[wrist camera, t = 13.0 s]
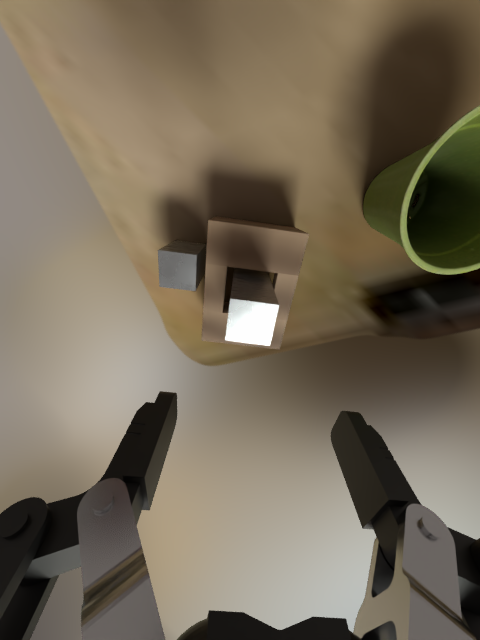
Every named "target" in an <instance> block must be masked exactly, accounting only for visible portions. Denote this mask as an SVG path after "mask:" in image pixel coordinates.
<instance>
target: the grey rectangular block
mask: <svg viewBox="0 0 480 640" xmlns="http://www.w3.org/2000/svg"><path fill="white" fill-rule="evenodd" d="M206 247H207V244H202V243H195V242H187V241H180V240H175V241H174V242H172V243H170V244H168V245H166V246H164V247H163V248H161V249H159V250H158V262H159V283H160V287H166V288H174V289H183V290H191V291H196V289H197V287H198V286H199V284H200V282H201V280H202V278H203V276H204V275H205V266H206Z"/></svg>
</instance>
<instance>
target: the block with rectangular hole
mask: <svg viewBox="0 0 480 640" xmlns="http://www.w3.org/2000/svg"><path fill="white" fill-rule="evenodd" d="M308 237H309V234H308V233H306V232H304V231H302V230H299V229H297V228H295V227H289V226H282V225H275V224H268V223H261V222H254V221H247V220H240V219H232V218H225V217H218V216H216V217H214V218H211V219H209V220H208V234H207V252H206V270H205V289H204V307H203V325H202V341H210V342H219V343H228V344H236V345H245V346H254V347H263V348H272V349H280V346H281V342H282V338H283V334H284V330H285V326H286V322H287V319H288V315H289V311H290V307H291V303H292V299H293V295H294V291H295V288H296V284H297V280H298V276H299V272H300V268H301V264H302V261H303V257H304V253H305V249H306V245H307V241H308ZM228 267H235V268H242V269H250V270H258V271H265V272H273V273H275V274H274V279H273V283H272V286H273V288H274V291H275V294H276V297H277V300H278V303H279V309H278V313H277V317H276V321H275V325H274V329H273V334H272V338H271V342H270V346H268V345H260V344H252V343H243V342H235V341H227V340H225V337H226V328H227V320H228V312H229V304H230V303H225V302H224V298H225V288H226V279H227V269H228Z"/></svg>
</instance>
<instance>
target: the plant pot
mask: <svg viewBox="0 0 480 640" xmlns="http://www.w3.org/2000/svg"><path fill="white" fill-rule="evenodd" d="M416 194H419V199H418V202H417V204H416V206H415V207H414V208H413V207H412V204H413V202H414V199H415V196H416ZM363 213H364V217H365V219H366V221H367V222H368V224H369V225H370V226H371V227H372V228H373V229H375V230H377V231H378V232H380V233H382V234H383V235H385V236H387V237H388V238H390V239H392V240H393V241H395V242H397V243H398V244H400V245H401V246H402V248H403V249H404V250H405V252H406V253H407V255H408V256H409V258H410V259H411V260H412V261H413V262H414V263H415V264H416V265H418V266H419V267H421V268H422V269H424V270H426V271H429V272H433V273H437V274H459V273H464V272H468V271H472V270H475V269H478V268H480V105H479V106H477V107H476V108H474V109H473V110H471V111H470V112H468V113H467V114H465V115H464V116H463V117H461V118H460V119H459V120H458V121H456V122H455V123H454V124H453V125H452V126H451V127H450V128H449V129H447V130H446V131H445V132H444V133H443V134H442V135H441V136H440V137H439V138H438V139H436V140H435V141H434V142H432V143H431V144H429V145H428V146H426V147H424V148H422V149H420V150H418V151H416V152H415V153H413V154H411V155H409V156H407V157H405V158H403V159H402V160H400V161H398V162H396V163H394V164H392V165H391V166H389V167H387V168H386V169H384V170H383V171H382V172H381V173H380V174H379V175H378V176H377V177H376V178H375V179H374V180H373V181H372V182H371V184H370V186H369V188H368V190H367V192H366V194H365V197H364V202H363ZM408 213H409V215H410V217H411V219H410V218H409V216H408Z"/></svg>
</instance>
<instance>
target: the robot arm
mask: <svg viewBox="0 0 480 640" xmlns="http://www.w3.org/2000/svg"><path fill="white" fill-rule="evenodd" d="M176 420H177V394H176V393H171V392H160V393H159V394H158V397H157V399H156V401H155V403H148V402H146V403H145V404H144V405H143V406H142V407H141V408H140V409H139V410H138V411H137V412H136V414H135V416H134V418H133V420H132V422H131V425H130V426H129V427H128V429H127V431H126V434H125V436H124V437H123V439H122V441H121V443H120V445H119V447H118V449H117V451H116V453H115V455H114V457H113V459H112V461H111V463H110V465H109V467H108V469H107V470H106V472H105V474H104V475H103V477H102V478H101V480H100V481H98V483H96V484H95V485H94V486H93V487H92V488H90V489H89V490H87V491H86V492H84V493H82V494H80V495H77V496H74V497H70V498H67V499H63V500H60V501H56V502H52V503H48V504H46V503H45V501H44V500H42V499H41V498H35V497H33V498H27V499H24V500H21V501H19V502H17V503H15V504H13V505H12V506H10V507H9V508H7V509H6V510H4V511H3V512H2V513H1V514H0V640H30V638H31V636H32V634H33V631H34V629H35V627H36V625H37V623H38V620H39V618H40V616H41V614H42V612H43V609H44V607H45V605H46V603H47V601H48V598H49V596H50V593H51V592H52V589H53V587H54V585H55V582H56V580H57V578H58V576H59V575H60V574H62V573H65V572H67V571H70V570H73V569H76V568H79V567H81V570H82V582H83V594H84V595H83V596H84V597H83V599H84V600H83V606H82V610H81V629H82V640H165V636H164V632H163V628H162V625H161V621H160V616H159V613H158V608H157V604H156V600H155V597H154V593H153V589H152V585H151V581H150V577H149V573H148V569H147V565H146V561H145V557H144V554H143V550H142V546H141V542H140V538H139V534H138V530H137V526H136V525H137V522H138V519H139V516H140V513H141V510H150V507H151V504H152V501H153V497H154V494H155V491H156V487H157V484H158V481H159V478H160V474H161V471H162V468H163V464H164V461H165V458H166V455H167V451H168V448H169V445H170V442H171V439H172V435H173V432H174V429H175V425H176ZM331 441H332V444H333V448H334V450H335V453H336V456H337V459H338V462H339V464H340V467H341V470H342V473H343V475H344V478H345V481H346V484H347V487H348V489H349V492H350V495H351V498H352V500H353V503H354V506H355V509H356V511H357V514H358V517H359V520H360V522H361V525H362V528H363V529H374V531H375V534H376V536H377V537H376V539H375V541H374V546H373V553H372V559H371V565H370V571H369V577H368V583H367V589H366V595H365V598H364V601H363V603H362V605H361V607H360V609H359V612H358V615H357V618H356V622H355V626H354V632H353V633H352V632H351V631H349V629H348V625H347V621H346V619H342V618H325V617H311V618H309V619H307V620H304V621H302V622H300V623H297V624H295V625H292V626H290V627H288V628H285V629H283V630H277V629H275V628H273V627H271V626H269V625H267V624H265V623H263V622H261V621H259V620H257V619H255V618H253V617H251V616H249V615H247V614H245V613H242V612H226V611H209V613H208V617H207V619H205V620H202V621H200V622H198V623H196V624H195V625H193V626H191V627H190V628H189V629H188V630H186V631H185V632H184V633H183V634H182V635H181V636H180V637H179V638H178V639H177V640H480V538H479V539H478V540H475V539H473V538H471V537H468V536H466V535H464V534H461V533H459V532H457V531H454V530H452V529H450V528H448V527H447V526H446V525H445V524H444V522H443V521H442V520H441V519H440V518H439V517H438V516H437V515H436V514H435V513H434V512H432V511H431V510H430V509H428V508H426V507H424V506H422V505H421V503H420V502H419V500H418V499H417V497H416V495H415V494H414V492H413V491H412V489H411V487H410V485H409V484H408V482H407V480H406V478H405V477H404V475H403V473H402V471H401V470H400V468H399V466H398V465H397V463H396V461H395V460H394V458H393V456H392V454H391V452H390V451H389V450H388V447H387V446H386V444H385V442H384V440H383V439H382V437H381V436H380V435H379V434H378V432H376V430H375V429H374V428H373V427H372V426H371V425H367V424H366V422H365V420H364V418H363V417H362V415H361V414H360V413H358V412H350V411H342V412H341V413H340V415H339V416H338V419H337V420H336V423H335V424H334V426H333V428H332V431H331Z"/></svg>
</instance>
